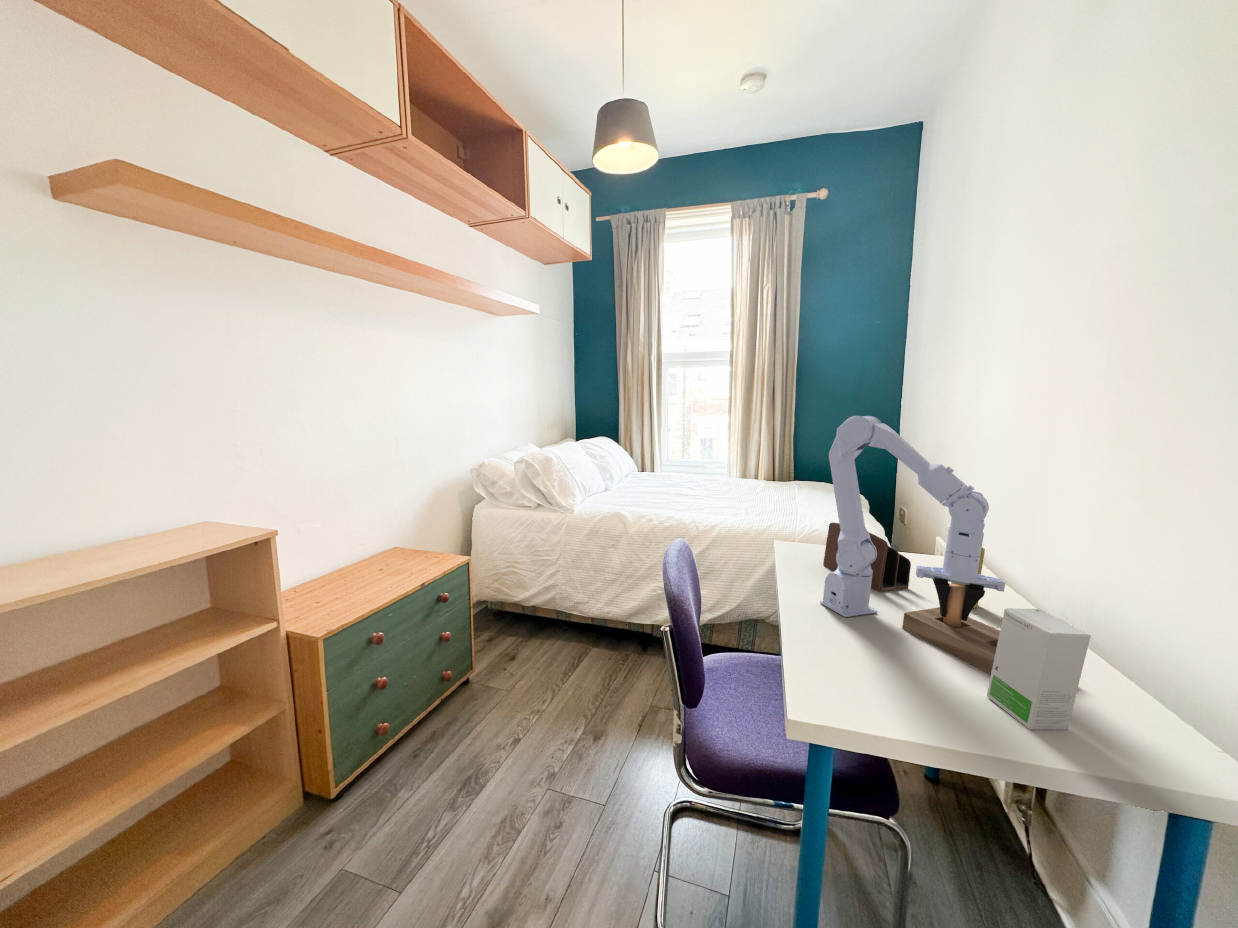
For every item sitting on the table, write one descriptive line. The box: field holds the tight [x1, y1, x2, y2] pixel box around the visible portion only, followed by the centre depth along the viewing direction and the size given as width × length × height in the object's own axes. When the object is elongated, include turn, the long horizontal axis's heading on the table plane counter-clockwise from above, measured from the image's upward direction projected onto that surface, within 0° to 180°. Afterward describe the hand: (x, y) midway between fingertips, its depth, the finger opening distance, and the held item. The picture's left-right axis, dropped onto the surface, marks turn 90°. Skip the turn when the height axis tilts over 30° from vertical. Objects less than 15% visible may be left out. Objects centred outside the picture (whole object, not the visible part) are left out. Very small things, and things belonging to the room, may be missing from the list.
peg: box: [943, 583, 966, 629], centre depth 98 cm, size 3×3×9 cm
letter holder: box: [823, 522, 912, 593], centre depth 132 cm, size 10×20×14 cm, turn 20°
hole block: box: [901, 606, 1000, 675], centre depth 94 cm, size 12×22×4 cm, turn 20°
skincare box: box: [986, 607, 1092, 731], centre depth 74 cm, size 8×7×16 cm
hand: (952, 616), depth 98 cm, fingers closed on peg, 3 cm apart
